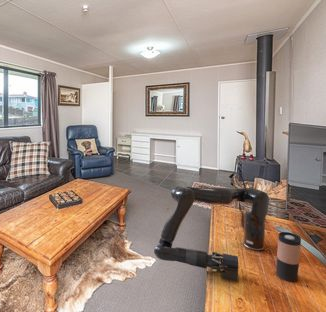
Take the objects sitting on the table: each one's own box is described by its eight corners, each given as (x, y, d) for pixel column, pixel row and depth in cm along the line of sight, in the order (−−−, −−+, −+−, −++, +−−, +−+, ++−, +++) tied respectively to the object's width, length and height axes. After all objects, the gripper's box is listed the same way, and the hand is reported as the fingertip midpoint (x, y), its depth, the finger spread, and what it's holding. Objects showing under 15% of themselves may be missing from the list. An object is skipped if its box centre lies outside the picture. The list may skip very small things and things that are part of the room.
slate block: (222, 272, 110) (222, 253, 109) (236, 275, 107) (237, 256, 106) (222, 278, 106) (223, 258, 105) (237, 281, 104) (238, 261, 102)
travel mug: (277, 268, 110) (279, 230, 107) (298, 275, 105) (302, 235, 101) (274, 277, 105) (277, 236, 101) (296, 284, 99) (300, 242, 96)
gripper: (195, 259, 106) (238, 268, 98) (197, 243, 118) (236, 250, 110) (195, 273, 107) (238, 284, 99) (197, 256, 120) (235, 264, 111)
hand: (236, 266), depth 105 cm, fingers closed on slate block, 4 cm apart
